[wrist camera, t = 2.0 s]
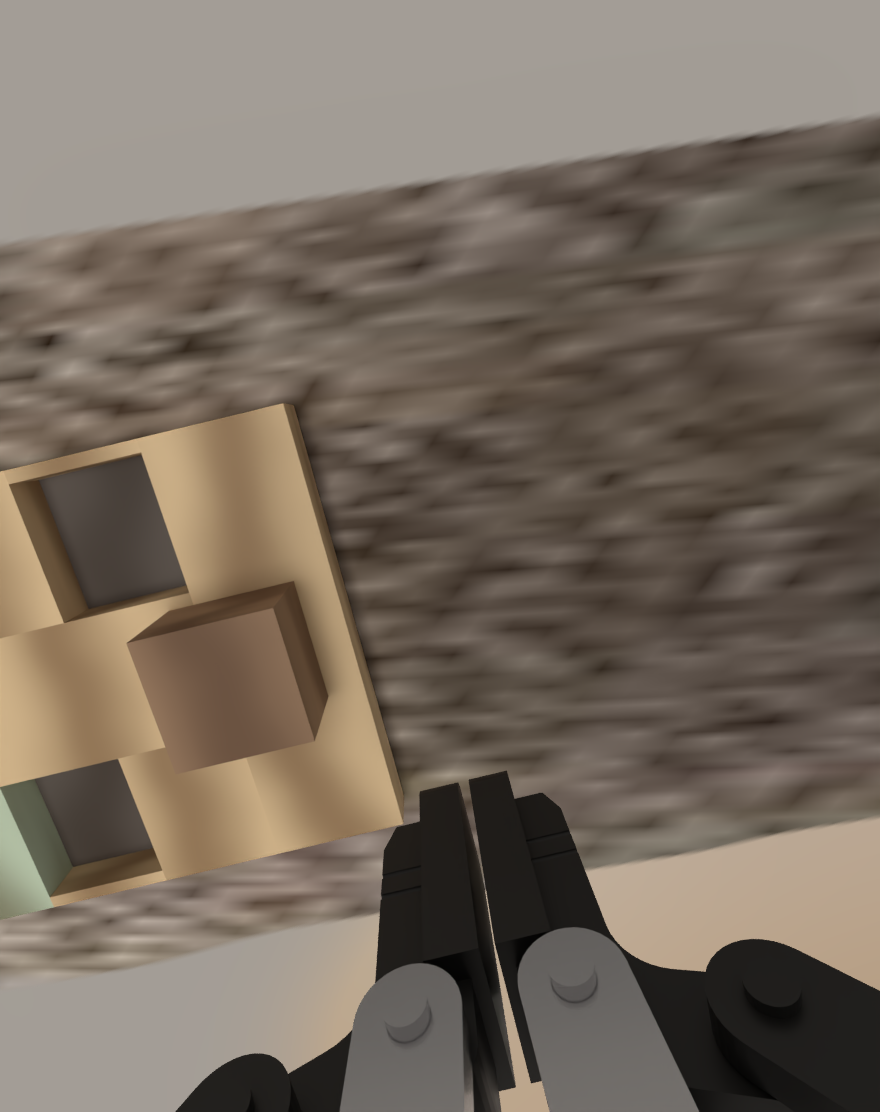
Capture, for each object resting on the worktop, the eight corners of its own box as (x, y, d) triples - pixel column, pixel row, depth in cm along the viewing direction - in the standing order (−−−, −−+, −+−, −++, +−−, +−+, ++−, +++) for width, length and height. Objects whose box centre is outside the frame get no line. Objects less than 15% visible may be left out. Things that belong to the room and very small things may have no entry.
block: (293, 581, 23) (273, 607, 20) (328, 696, 24) (314, 741, 21) (168, 611, 23) (126, 643, 20) (209, 725, 24) (175, 774, 21)
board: (293, 405, 24) (275, 401, 20) (403, 795, 27) (402, 843, 24) (-219, 529, 24) (-315, 544, 21) (-36, 900, 28) (-93, 960, 24)
